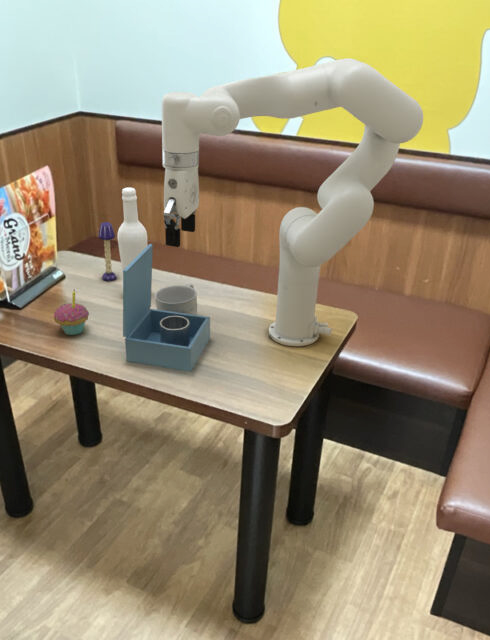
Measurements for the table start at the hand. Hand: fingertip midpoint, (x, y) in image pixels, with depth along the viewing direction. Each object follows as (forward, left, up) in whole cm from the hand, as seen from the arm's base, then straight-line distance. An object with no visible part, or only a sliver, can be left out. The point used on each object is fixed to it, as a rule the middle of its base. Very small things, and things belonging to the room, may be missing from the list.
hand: (180, 238), depth 135 cm
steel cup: (0, +6, -26) cm, 26 cm away
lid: (+8, +6, -11) cm, 15 cm away
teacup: (+4, -11, -27) cm, 29 cm away
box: (+1, +6, -27) cm, 27 cm away
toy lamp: (+32, -29, -27) cm, 51 cm away
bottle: (+20, -20, -27) cm, 39 cm away
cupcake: (+28, +3, -27) cm, 39 cm away
